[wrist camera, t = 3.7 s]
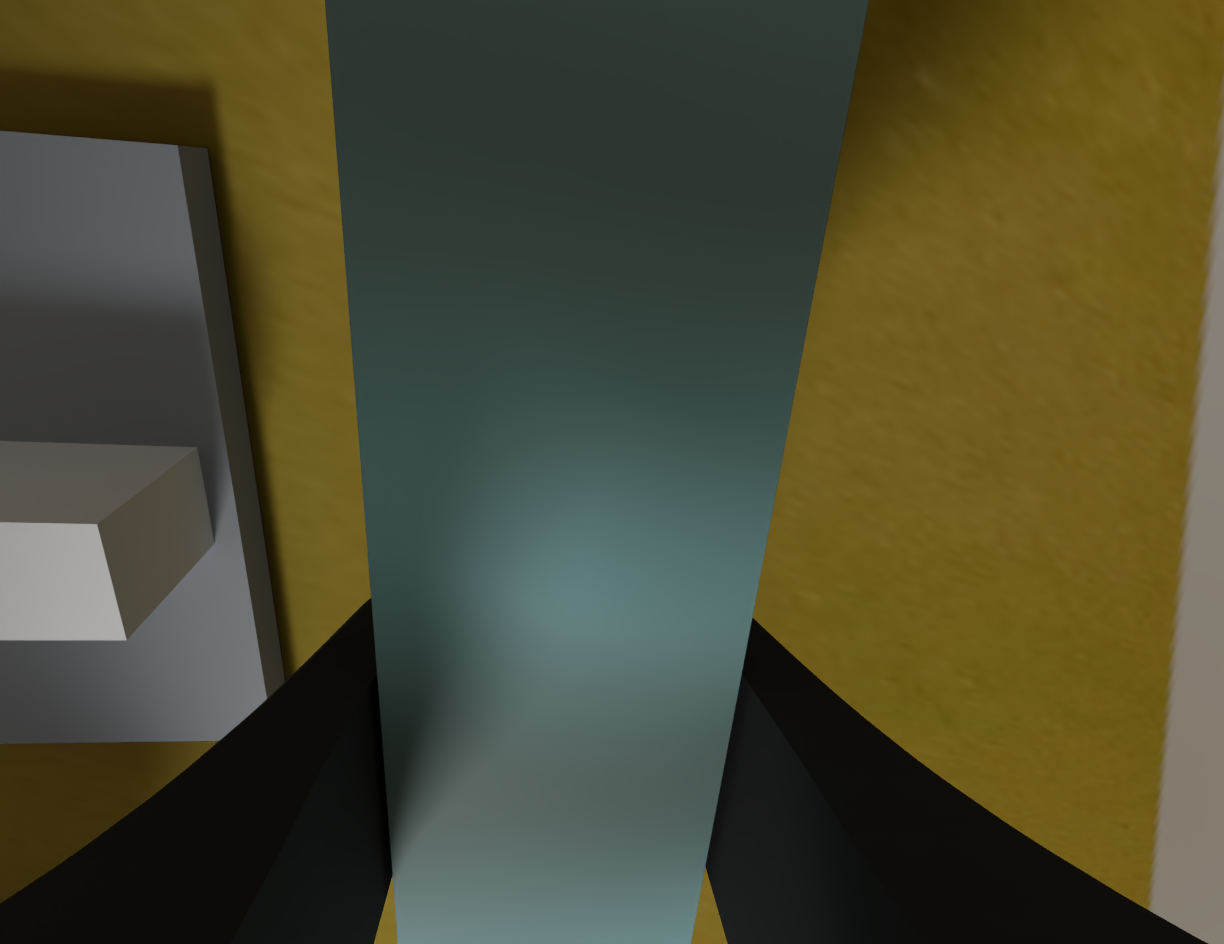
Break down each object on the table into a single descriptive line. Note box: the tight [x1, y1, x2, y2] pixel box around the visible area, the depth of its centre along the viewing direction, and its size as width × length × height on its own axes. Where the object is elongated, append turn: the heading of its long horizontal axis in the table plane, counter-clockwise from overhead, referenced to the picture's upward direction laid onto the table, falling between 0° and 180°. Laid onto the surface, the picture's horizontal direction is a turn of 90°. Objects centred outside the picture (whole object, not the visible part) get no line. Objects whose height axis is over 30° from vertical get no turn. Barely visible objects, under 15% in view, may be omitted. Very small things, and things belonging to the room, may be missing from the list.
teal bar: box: [325, 0, 869, 944], centre depth 9 cm, size 16×4×4 cm, turn 176°
